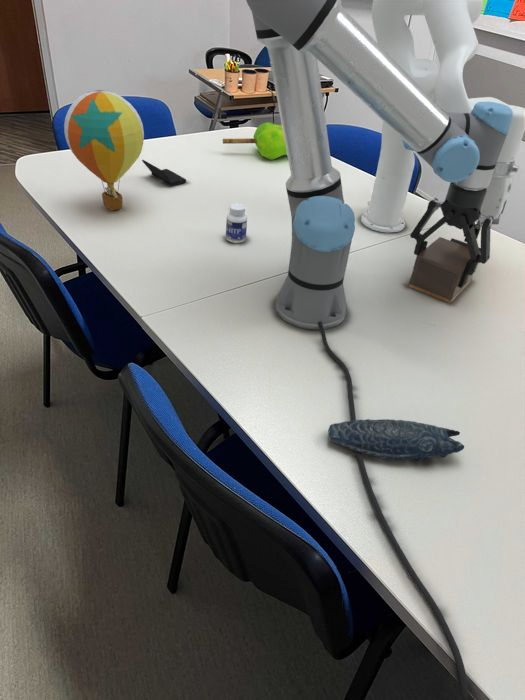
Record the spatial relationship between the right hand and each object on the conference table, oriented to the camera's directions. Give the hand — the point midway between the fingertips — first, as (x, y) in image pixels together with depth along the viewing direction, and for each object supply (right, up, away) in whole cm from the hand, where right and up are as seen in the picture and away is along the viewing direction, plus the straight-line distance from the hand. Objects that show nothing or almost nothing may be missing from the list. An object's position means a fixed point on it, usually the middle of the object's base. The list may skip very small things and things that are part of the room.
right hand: (469, 240), depth 128 cm
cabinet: (-8, -11, -2) cm, 14 cm away
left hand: (-10, -10, -6) cm, 15 cm away
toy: (-93, +12, +17) cm, 95 cm away
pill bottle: (-58, +2, +8) cm, 59 cm away
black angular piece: (-82, +27, +36) cm, 94 cm away
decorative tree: (-51, +44, +61) cm, 91 cm away
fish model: (-30, -43, -44) cm, 69 cm away
